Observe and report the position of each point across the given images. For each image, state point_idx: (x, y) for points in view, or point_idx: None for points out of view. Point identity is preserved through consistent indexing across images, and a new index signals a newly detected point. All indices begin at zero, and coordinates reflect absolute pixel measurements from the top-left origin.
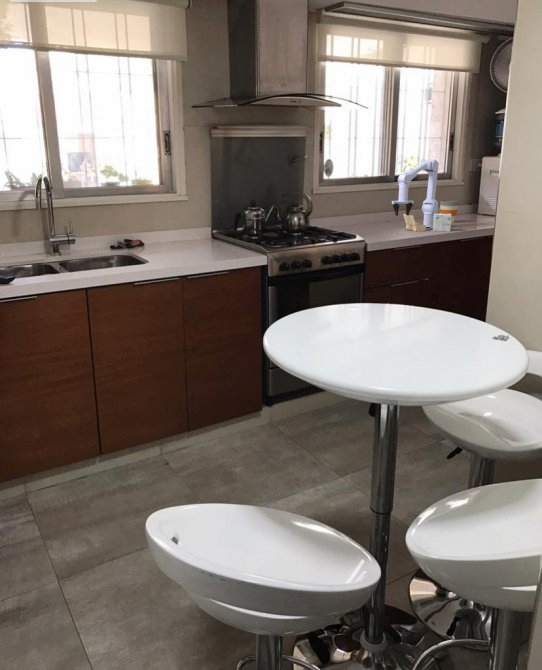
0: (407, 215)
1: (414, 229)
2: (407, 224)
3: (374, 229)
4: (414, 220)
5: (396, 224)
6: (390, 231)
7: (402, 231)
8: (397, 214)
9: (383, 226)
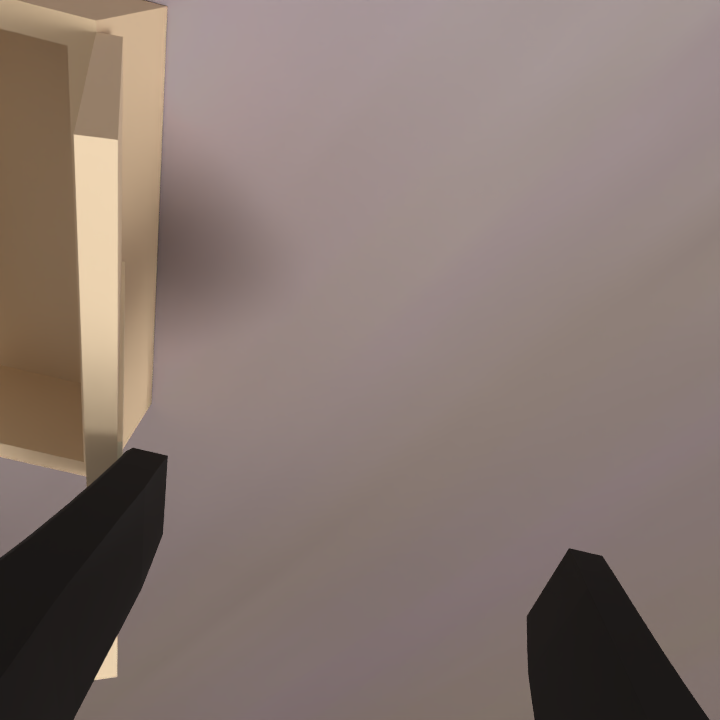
0: None
1: (148, 96)
2: None
3: (631, 599)
4: (100, 75)
5: None
6: (620, 345)
7: (415, 220)
8: (611, 584)
9: (303, 678)
